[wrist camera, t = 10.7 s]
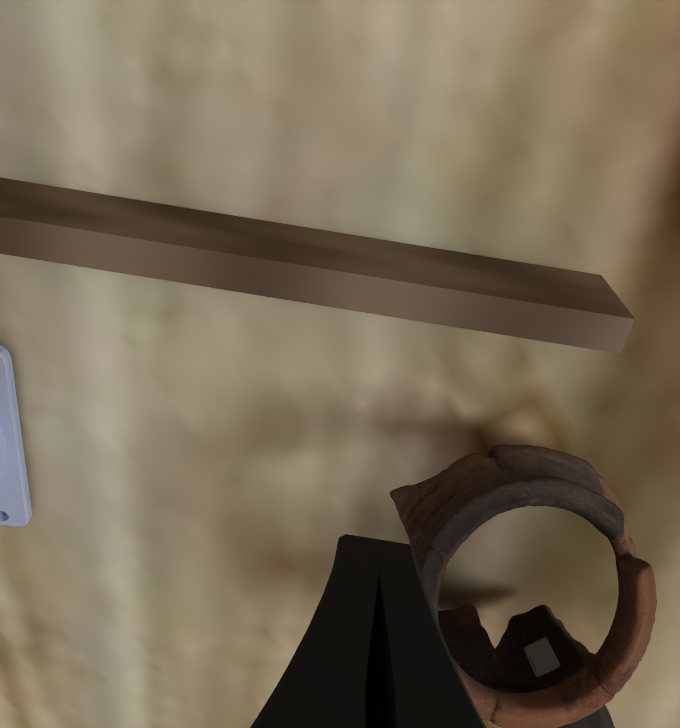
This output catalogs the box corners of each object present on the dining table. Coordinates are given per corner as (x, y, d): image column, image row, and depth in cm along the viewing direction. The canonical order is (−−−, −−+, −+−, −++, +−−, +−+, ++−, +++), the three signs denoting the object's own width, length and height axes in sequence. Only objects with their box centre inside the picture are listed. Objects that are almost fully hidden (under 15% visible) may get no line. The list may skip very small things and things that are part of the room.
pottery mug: (290, 516, 25) (310, 597, 17) (475, 369, 26) (579, 378, 18) (469, 741, 26) (568, 919, 18) (639, 593, 27) (807, 697, 19)
